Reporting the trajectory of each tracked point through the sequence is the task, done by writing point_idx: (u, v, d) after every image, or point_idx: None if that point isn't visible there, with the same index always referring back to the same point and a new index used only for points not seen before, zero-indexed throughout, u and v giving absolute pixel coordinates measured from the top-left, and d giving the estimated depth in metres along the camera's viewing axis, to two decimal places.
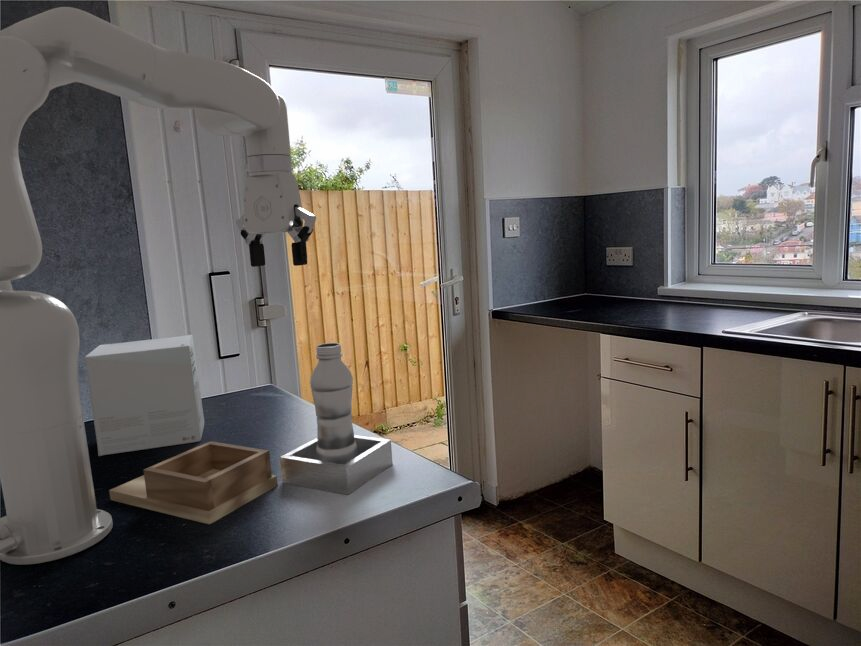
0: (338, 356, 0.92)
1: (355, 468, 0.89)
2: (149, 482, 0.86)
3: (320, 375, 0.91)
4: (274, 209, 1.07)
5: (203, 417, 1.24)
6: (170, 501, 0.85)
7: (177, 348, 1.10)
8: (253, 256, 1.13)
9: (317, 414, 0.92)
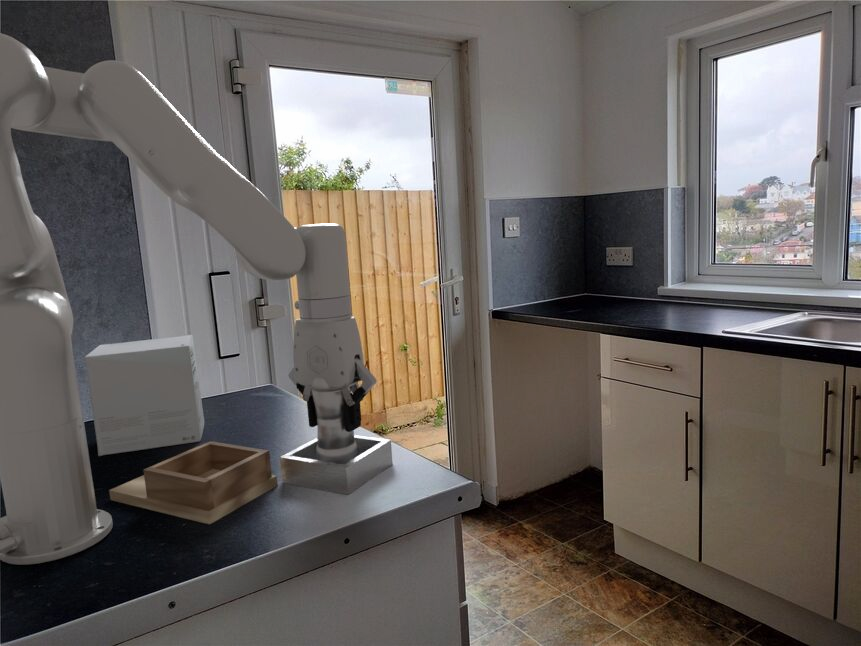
0: None
1: (355, 468, 0.89)
2: (149, 482, 0.86)
3: None
4: (331, 362, 0.89)
5: (203, 417, 1.24)
6: (170, 501, 0.85)
7: (177, 348, 1.10)
8: (312, 415, 0.94)
9: (317, 414, 0.92)
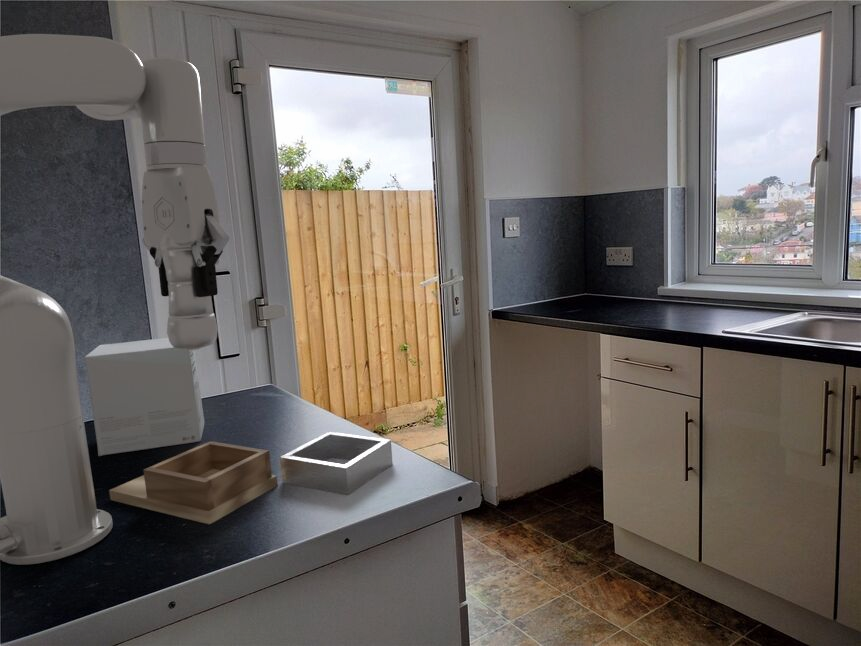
0: None
1: (355, 468, 0.89)
2: (149, 482, 0.86)
3: None
4: (177, 215, 0.80)
5: (203, 417, 1.24)
6: (170, 501, 0.85)
7: (177, 348, 1.10)
8: (164, 283, 0.85)
9: (167, 278, 0.83)
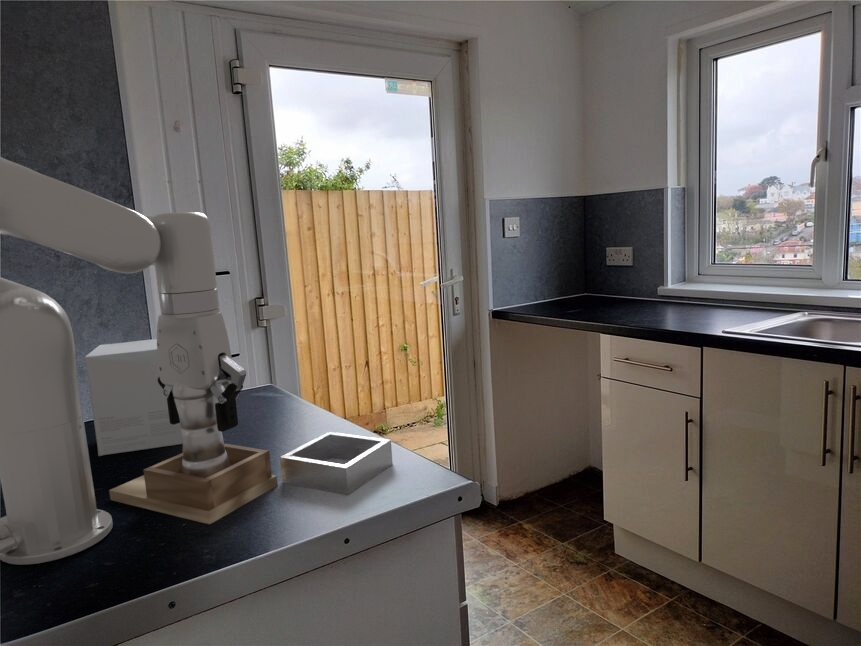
0: None
1: (355, 468, 0.89)
2: (149, 482, 0.86)
3: (181, 382, 0.85)
4: (192, 361, 0.83)
5: None
6: (170, 501, 0.85)
7: None
8: (172, 412, 0.88)
9: (180, 424, 0.86)
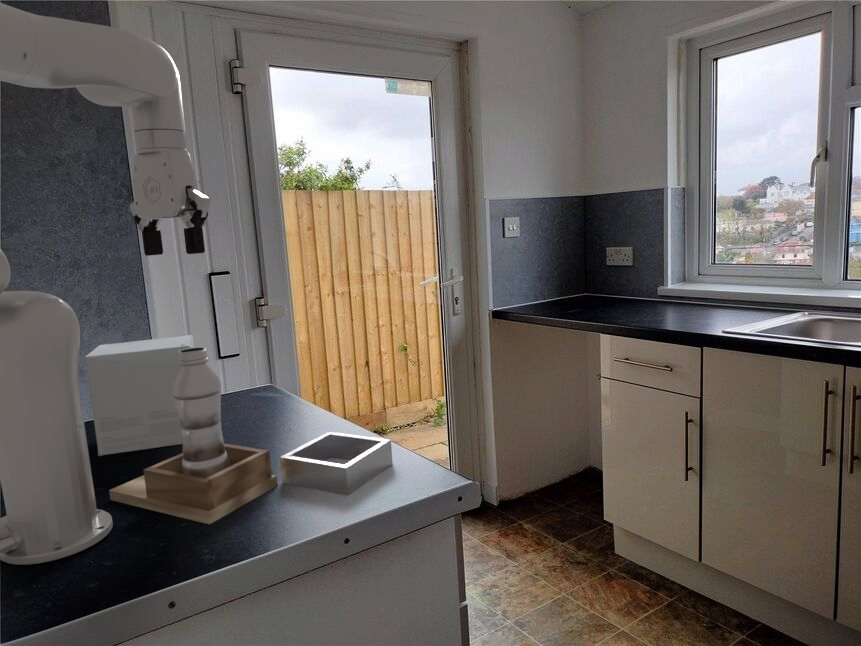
0: (201, 362, 0.85)
1: (355, 468, 0.89)
2: (149, 482, 0.86)
3: (181, 382, 0.85)
4: (163, 190, 0.96)
5: None
6: (170, 501, 0.85)
7: (177, 348, 1.10)
8: (147, 244, 1.01)
9: (180, 424, 0.86)
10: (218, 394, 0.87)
